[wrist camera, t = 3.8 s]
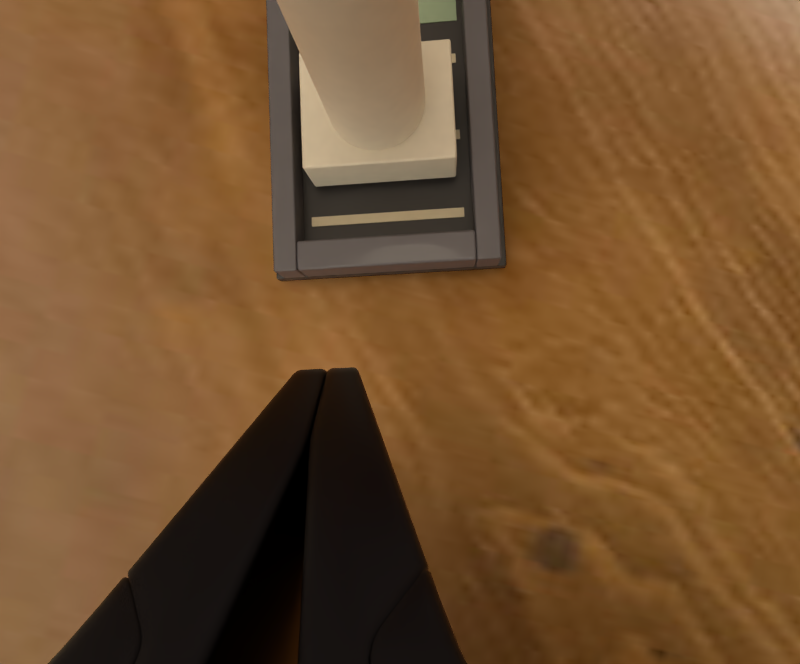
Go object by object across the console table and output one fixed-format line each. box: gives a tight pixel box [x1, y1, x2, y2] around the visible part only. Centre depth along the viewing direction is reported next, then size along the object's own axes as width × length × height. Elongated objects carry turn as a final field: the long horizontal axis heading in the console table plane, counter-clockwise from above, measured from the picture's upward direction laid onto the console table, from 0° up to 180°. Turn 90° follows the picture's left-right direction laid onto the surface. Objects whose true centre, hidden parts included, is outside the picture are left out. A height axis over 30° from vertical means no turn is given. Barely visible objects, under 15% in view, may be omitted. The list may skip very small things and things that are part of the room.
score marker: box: [276, 0, 457, 187], centre depth 13 cm, size 4×4×12 cm
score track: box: [266, 0, 506, 281], centre depth 19 cm, size 14×7×2 cm, turn 3°
